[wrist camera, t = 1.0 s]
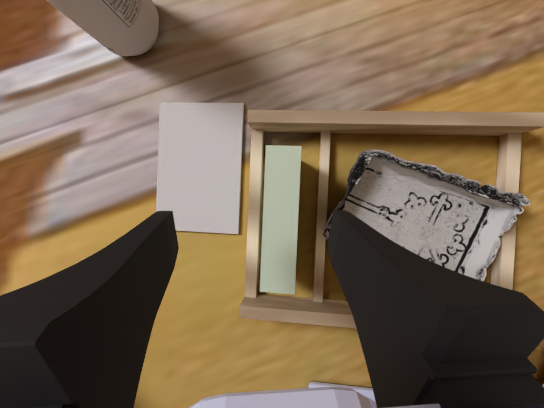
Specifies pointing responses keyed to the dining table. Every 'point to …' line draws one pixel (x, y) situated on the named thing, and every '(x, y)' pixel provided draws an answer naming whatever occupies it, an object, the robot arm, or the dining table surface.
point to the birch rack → (326, 123)
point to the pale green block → (280, 219)
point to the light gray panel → (201, 165)
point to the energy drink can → (115, 22)
